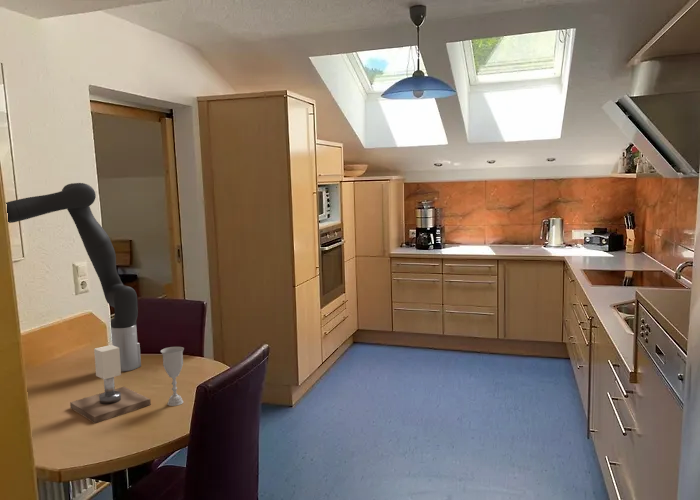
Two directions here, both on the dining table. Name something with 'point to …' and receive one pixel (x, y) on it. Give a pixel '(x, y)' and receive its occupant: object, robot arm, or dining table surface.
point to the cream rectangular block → (107, 361)
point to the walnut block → (109, 405)
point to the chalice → (173, 370)
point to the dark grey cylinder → (109, 393)
